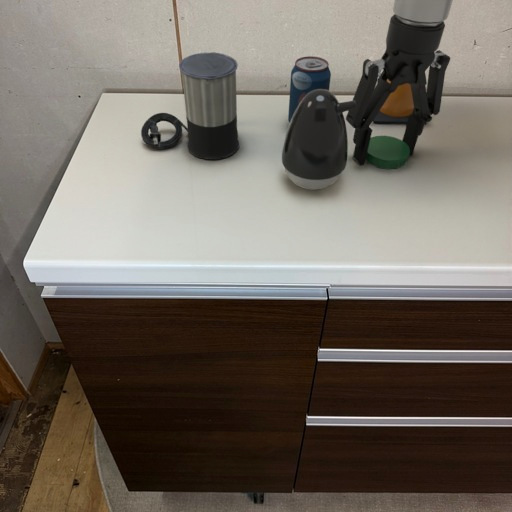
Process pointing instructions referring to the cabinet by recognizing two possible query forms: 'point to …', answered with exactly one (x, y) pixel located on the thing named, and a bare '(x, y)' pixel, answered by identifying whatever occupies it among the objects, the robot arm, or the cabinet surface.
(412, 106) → the jar
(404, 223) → the cabinet surface
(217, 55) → the milk frother
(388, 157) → the jar lid
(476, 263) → the cabinet surface
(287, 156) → the pump dispenser
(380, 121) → the mat
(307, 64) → the soda can
